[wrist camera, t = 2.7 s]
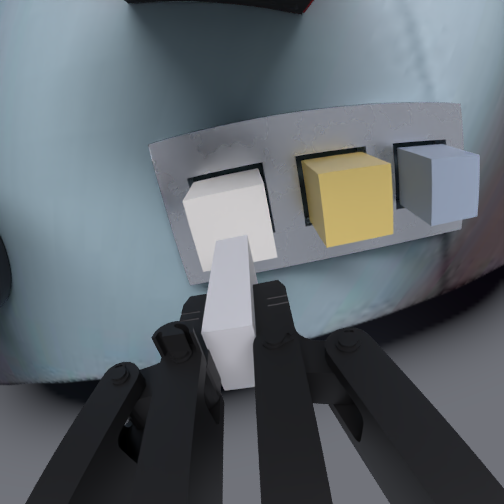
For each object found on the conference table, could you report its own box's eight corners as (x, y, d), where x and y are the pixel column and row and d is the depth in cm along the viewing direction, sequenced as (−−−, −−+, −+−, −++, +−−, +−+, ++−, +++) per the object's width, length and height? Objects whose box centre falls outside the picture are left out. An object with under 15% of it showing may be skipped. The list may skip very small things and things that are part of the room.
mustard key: (309, 220, 24) (326, 247, 19) (300, 160, 22) (318, 174, 17) (366, 210, 24) (393, 234, 19) (361, 151, 21) (391, 163, 17)
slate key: (399, 204, 23) (431, 226, 19) (396, 147, 21) (431, 159, 17) (443, 196, 23) (477, 216, 19) (442, 144, 21) (479, 155, 17)
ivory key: (209, 240, 24) (203, 271, 20) (193, 182, 22) (182, 201, 17) (269, 228, 24) (277, 257, 19) (257, 168, 22) (263, 183, 17)
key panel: (193, 273, 27) (190, 285, 26) (154, 142, 22) (148, 144, 20) (450, 221, 26) (461, 228, 25) (447, 102, 21) (460, 103, 19)
